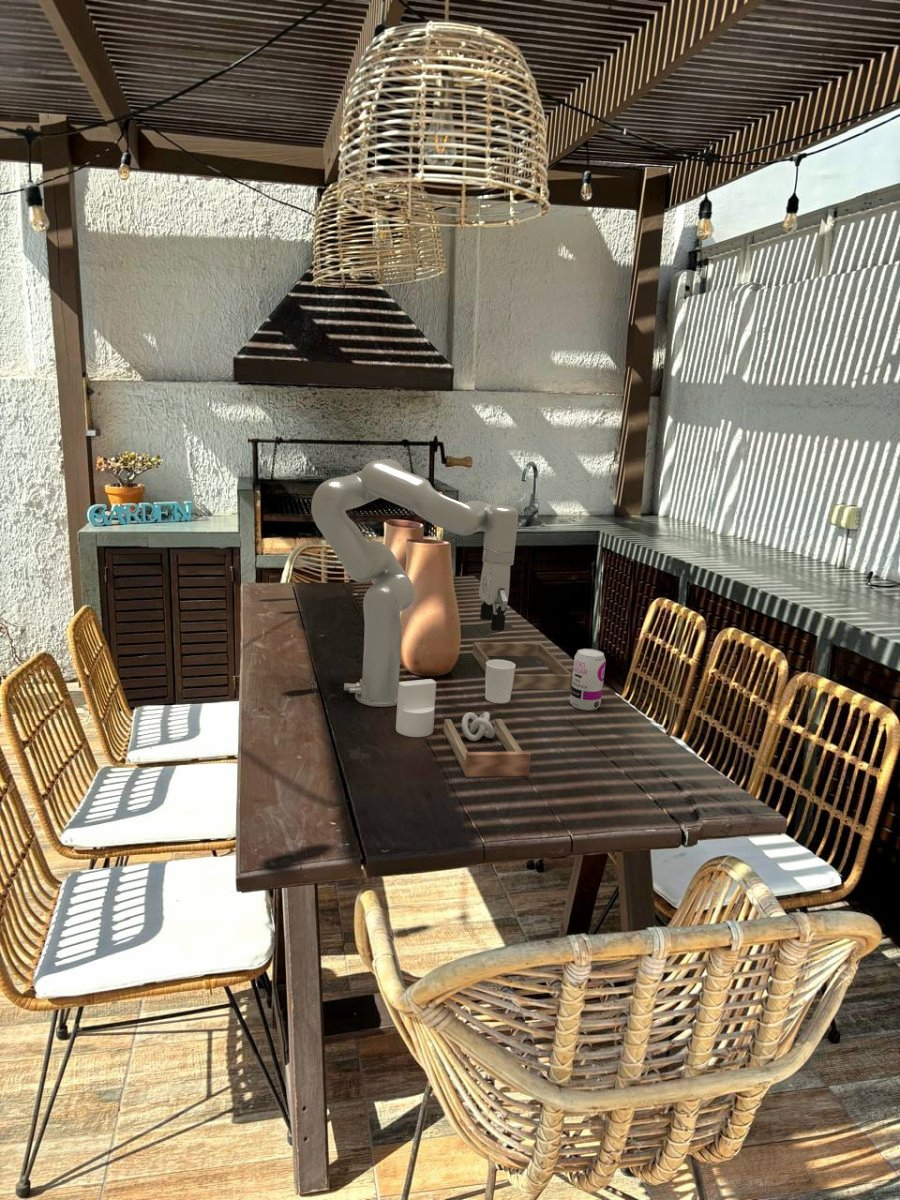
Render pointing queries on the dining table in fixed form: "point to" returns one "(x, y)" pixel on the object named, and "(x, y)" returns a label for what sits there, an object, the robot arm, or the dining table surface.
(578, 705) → the supplement can
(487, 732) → the knot
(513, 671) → the white cup
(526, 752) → the guide channel
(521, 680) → the serving tray rim
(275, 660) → the dining table surface
